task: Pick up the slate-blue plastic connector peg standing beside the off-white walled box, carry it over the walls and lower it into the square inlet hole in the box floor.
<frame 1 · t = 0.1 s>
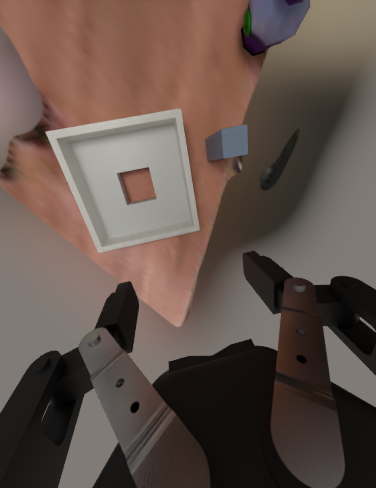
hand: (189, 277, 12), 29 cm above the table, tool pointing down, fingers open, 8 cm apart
walled box: (139, 185, 36), on the table
potion bottle: (256, 34, 30), on the table
connector peg: (215, 148, 36), on the table
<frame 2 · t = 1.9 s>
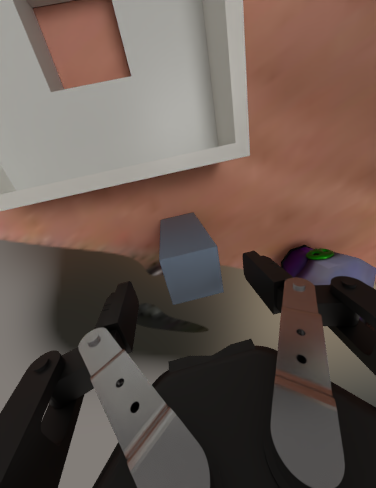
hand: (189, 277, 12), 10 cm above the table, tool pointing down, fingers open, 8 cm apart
walled box: (89, 53, 14), on the table
potion bottle: (297, 261, 26), on the table
connector peg: (180, 231, 22), on the table
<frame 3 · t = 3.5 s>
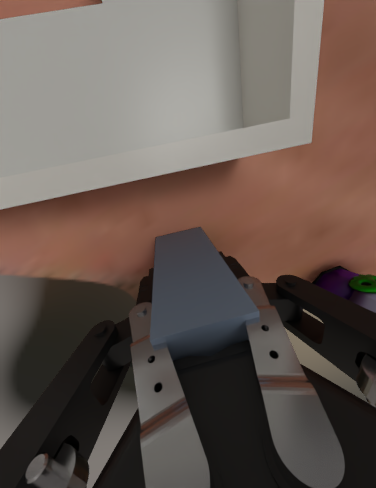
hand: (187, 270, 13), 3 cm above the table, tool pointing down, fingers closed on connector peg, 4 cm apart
potion bottle: (328, 285, 21), on the table
connector peg: (182, 251, 16), on the table, touching gripper
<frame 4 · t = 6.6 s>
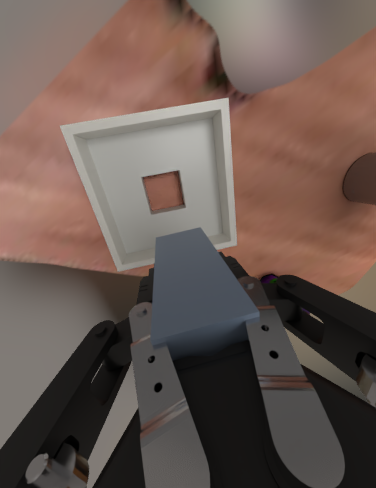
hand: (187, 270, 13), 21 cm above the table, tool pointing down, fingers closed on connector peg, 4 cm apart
walled box: (164, 191, 31), on the table
connector peg: (183, 252, 16), point 18 cm above the table, touching gripper
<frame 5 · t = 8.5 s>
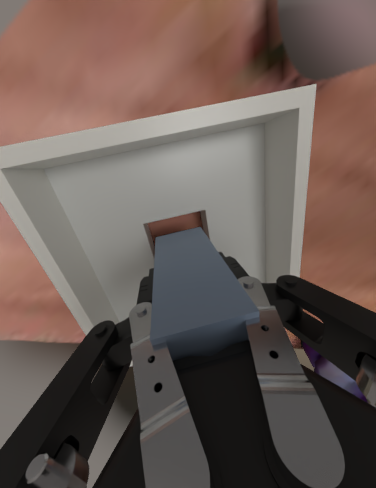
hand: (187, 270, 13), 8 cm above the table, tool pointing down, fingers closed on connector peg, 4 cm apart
walled box: (178, 234, 20), on the table
potion bottle: (313, 337, 32), on the table
connector peg: (182, 251, 16), point 5 cm above the table, touching gripper
when the fingers open (5 cm above the table, at t = 9.9 s): connector peg drops 1 cm, resting in walled box.
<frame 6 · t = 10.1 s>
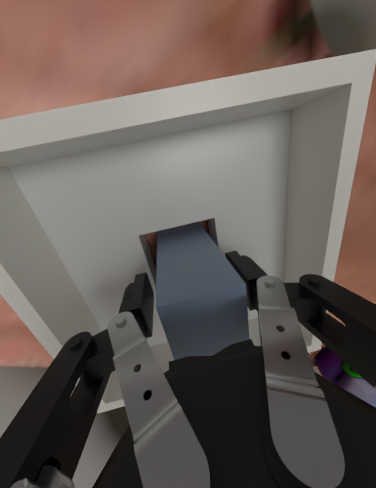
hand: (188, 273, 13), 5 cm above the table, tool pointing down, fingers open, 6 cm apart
walled box: (180, 245, 17), on the table
potion bottle: (328, 354, 30), on the table
connector peg: (182, 245, 17), resting in walled box
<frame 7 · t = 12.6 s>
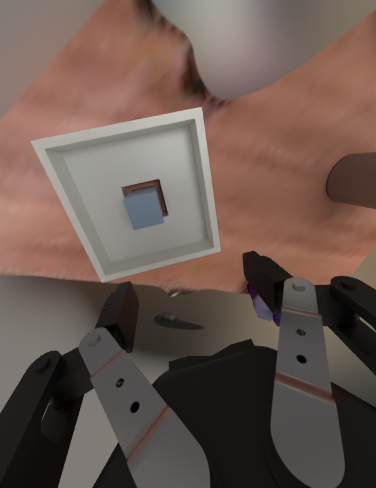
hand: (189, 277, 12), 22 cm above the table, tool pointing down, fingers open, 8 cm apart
walled box: (146, 199, 31), on the table
potion bottle: (257, 285, 43), on the table
connector peg: (147, 198, 31), resting in walled box
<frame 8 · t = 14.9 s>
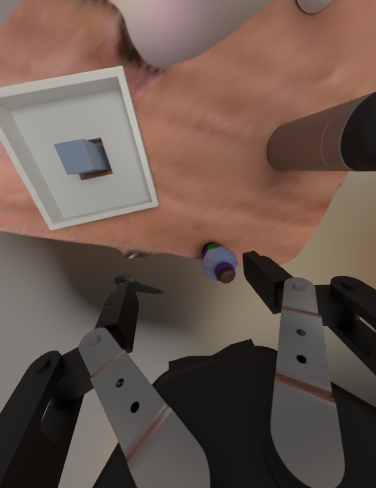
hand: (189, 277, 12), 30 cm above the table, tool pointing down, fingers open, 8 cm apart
walled box: (96, 160, 34), on the table
potion bottle: (211, 251, 47), on the table
connector peg: (96, 160, 34), resting in walled box
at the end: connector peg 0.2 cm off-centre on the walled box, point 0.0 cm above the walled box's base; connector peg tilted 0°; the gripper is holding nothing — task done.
